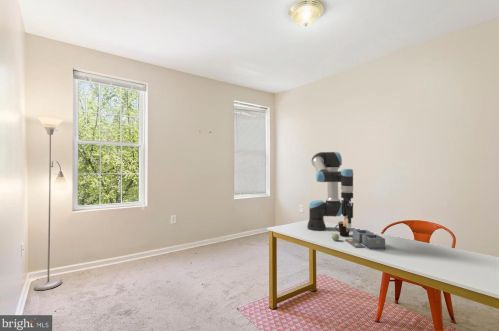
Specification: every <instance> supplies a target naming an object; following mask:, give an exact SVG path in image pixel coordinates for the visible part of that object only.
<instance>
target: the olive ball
mask: <svg viewBox="0 0 499 331" xmlns="http://www.w3.org/2000/svg"><path fill="white" fill-rule="evenodd" d="M331 239H332V241H339V240H340V234H338V233H333V234H331Z"/></svg>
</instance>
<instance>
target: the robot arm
mask: <svg viewBox="0 0 499 331" xmlns="http://www.w3.org/2000/svg"><path fill="white" fill-rule="evenodd" d="M342 162H343V160H342V155H341V153H340V152H338V151H324V152H323V151H322V152H321V151H320V152H317V153H315V154H314V155H313V157H312V158H311V164H312V166H313V167H314V168H315V171H316V173H315V180H316V182H318V183H326V184H327V189H326V190H327V198H326V199H325V201H324V200H322V199H321V200H313V201H310V202H309V204H308V211H309V212H308V214H309V215H308V216H309V217H308V218H309V219H308V222H307V227H306V228H307V230H311V231H325V230H327V227H326V223H325V219H324V217H341V215H342V217H343V218H342V221H343V222H344V221H345V220H347V228H350V229H352V219H353V218H354V203H353V202H352V199H354V169H353V168H342V169H340V167H341V166H342V164H343V163H342ZM339 169H340V170H339ZM339 183H340V191H341V193H340V197H341V199H342V200H341V199H340V198H339ZM343 226H344V225H343Z"/></svg>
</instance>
